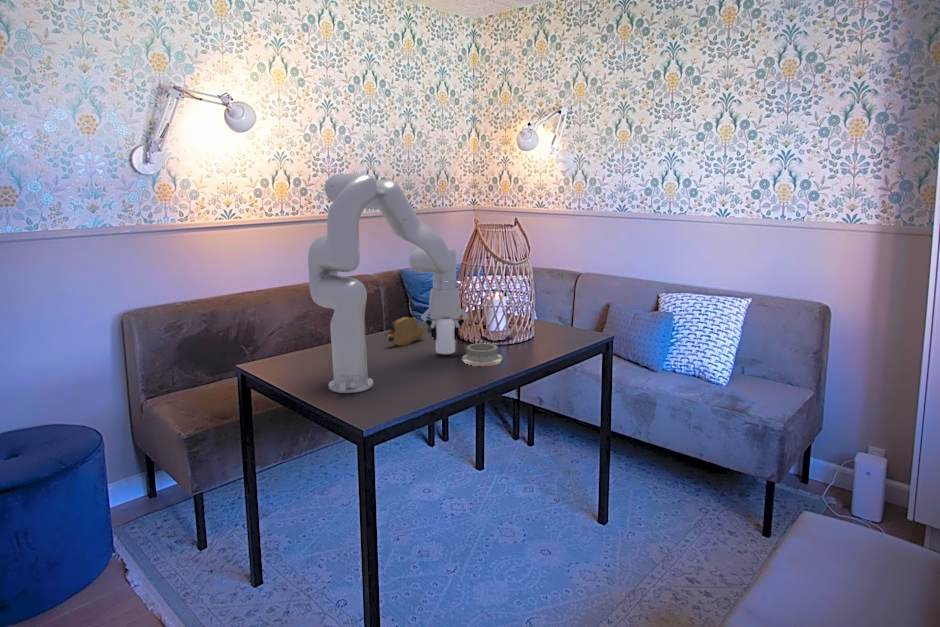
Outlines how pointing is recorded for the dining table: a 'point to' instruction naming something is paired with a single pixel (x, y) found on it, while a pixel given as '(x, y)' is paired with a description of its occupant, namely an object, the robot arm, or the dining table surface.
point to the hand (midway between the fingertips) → (445, 338)
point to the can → (445, 336)
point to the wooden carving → (404, 331)
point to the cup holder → (482, 355)
